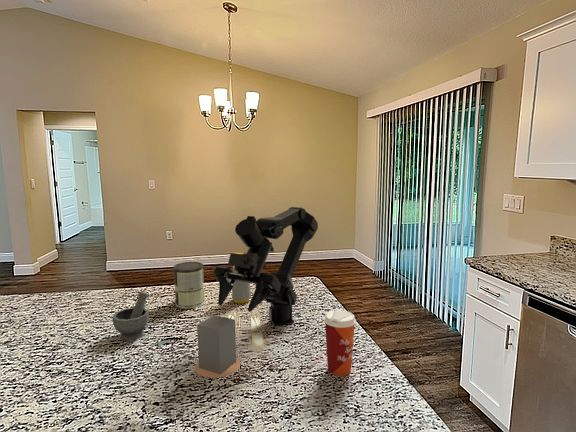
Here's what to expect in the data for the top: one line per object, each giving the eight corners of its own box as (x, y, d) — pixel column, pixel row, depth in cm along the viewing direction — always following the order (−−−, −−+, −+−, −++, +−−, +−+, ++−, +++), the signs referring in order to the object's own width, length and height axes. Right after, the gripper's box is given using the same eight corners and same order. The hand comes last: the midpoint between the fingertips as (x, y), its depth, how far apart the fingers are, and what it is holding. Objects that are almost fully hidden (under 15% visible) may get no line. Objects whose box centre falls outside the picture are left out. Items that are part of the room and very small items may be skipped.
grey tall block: (215, 355, 97) (214, 314, 95) (236, 361, 94) (235, 319, 92) (198, 367, 91) (197, 324, 89) (220, 374, 88) (218, 330, 86)
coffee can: (169, 304, 135) (167, 266, 133) (191, 296, 144) (190, 260, 142) (188, 311, 129) (186, 271, 127) (210, 302, 138) (209, 264, 136)
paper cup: (347, 382, 87) (348, 324, 85) (318, 372, 91) (318, 317, 89) (360, 366, 94) (361, 313, 92) (332, 358, 98) (332, 306, 96)
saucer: (235, 355, 100) (234, 337, 99) (245, 378, 89) (244, 357, 89) (192, 363, 96) (191, 344, 95) (197, 387, 86) (196, 366, 85)
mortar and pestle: (130, 346, 105) (127, 305, 103) (107, 339, 109) (103, 299, 107) (160, 330, 115) (158, 292, 113) (138, 324, 119) (135, 287, 117)
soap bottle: (234, 296, 143) (233, 250, 140) (252, 297, 142) (251, 250, 139) (229, 303, 136) (228, 255, 133) (248, 304, 135) (247, 255, 132)
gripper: (215, 237, 104) (189, 287, 95) (275, 243, 95) (251, 300, 87) (233, 258, 112) (210, 307, 104) (289, 266, 103) (269, 319, 95)
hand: (233, 308), depth 97 cm, fingers open, 9 cm apart
